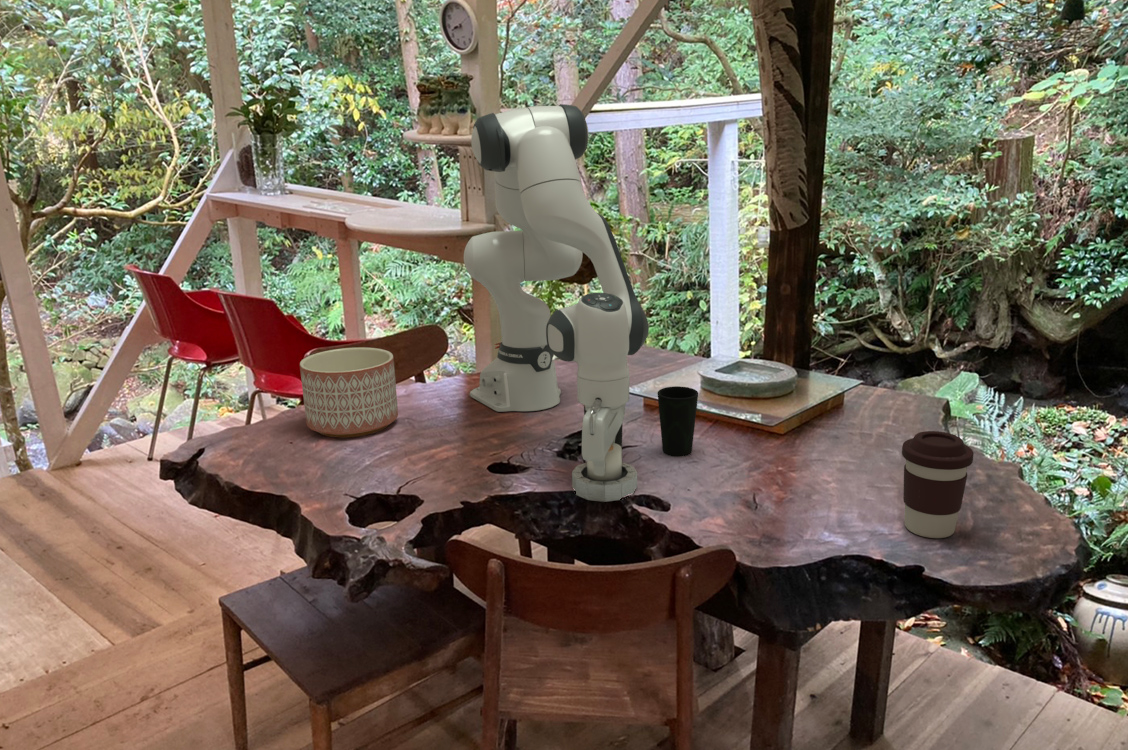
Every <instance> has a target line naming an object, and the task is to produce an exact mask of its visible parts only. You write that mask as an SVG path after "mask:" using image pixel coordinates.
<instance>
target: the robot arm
mask: <svg viewBox="0 0 1128 750" xmlns="http://www.w3.org/2000/svg"><path fill="white" fill-rule="evenodd" d="M587 123H588V122H587V121H586V118H585V115H584V113H583V111H582V110H581V109H580V108H579V107H578V106H576V105H571V104H564V103H563V104H562V103H561V104H558V105H533V106H527V107H525V108H524V107H523V108H517V109H511V110H507V111H502V112H499V113H494V112H491V113H487V114H485V115H482V116H480V117H477V119H476V121H474V124H473V127H472V132H471V140H470V141H471V142H470V143H471V149H472V153H473V156H474V157H475V159H476V160H477V164H478V165H479V166H480V167H481V168H483V169H484V170H485V171H489V172H493V173H494V174H493V178H494V197H495V200H494V201H495V204H494V205H495V209H496V212H497V213H498V215H499V216H500V218H502V220H503V221H505V222H506V223H507V224H509V225H511V226H513V227H515V228H518V229H519V230H509V231H508V230H507V231H506V230H505V231H502V230H501V231H491V232H484V233H482V234H481V233H480V234H477V235H473V236H471V238H470V239H469V240H468V242H467V243H466V245H465V248H464V251H463V262H464V267H465V269H466V271H467V273H468V275H469V276H470V277H471V278H472V279H474V280H475V281H476V282H478V283H479V284H481V285H482V286H483V287H484V288H485V289H486V291H488V292H489V294H490V295H491V296H492V298H493V300H494V302H495V304H496V306H497V310H498V313H499V322H500V328H501V329H500V330H501V341H500V342H498V343H495V344H494V346H495V347H494V349H495V350H496V349H498V351H497V356H496V358H495V359H494V360H492V362H490V363H489V364H488V365H486V366H485V367H484V368H483V369H482V370H480V371H481V372H480V374H479V386H478V387H475V388H473V389H472V390H471V391H469V397H471V398H472V399H474V400H476V401H477V402H479V403H481V404H483V405H485V406H487V407H488V408H490V409H491V410H493V411H495V412H499V413H500V412H502V413H503V412H504V413H505V412H535V411H541V410H548V409H550V408H553V407H556V406H557V405H558V404H560V402H561V397H560V396H561V393H562V392H561V388H559V384H558V378H557V371H556V364H555V361H554V360H553V359H554V356H555V357H556V358H558V359H559V360H560V361H564V362H568V363H569V362H570V363H571V362H575V363H576V364H577V372H576V380H577V381H576V383H577V384H576V385H577V388H576V389H577V391H576V392H577V401H578V403H580V404H581V405H583V406H584V405H585V410H586V411H587V412H586V414H585V415H583V419H582V427H581V456H582V459H583V460H584V461H586V462H587V461H593V465H594V474H595V475H598V476H603V475H604V474H605V472H606V463H605V456H606V454H607V452H608V450H609V448H610V446H611V444H612V443H615V437H616V435H617V433H618V431H619V429H620V427H621V425H622V423H624V418H625V413H626V412H625V410H626V404H627V403H628V402H629V401H630V384H631V383H630V382H631V381H630V378H631V377H630V368H629V366H628V356H634V355H635V354H637V353H638V351H639V350H640V349H641V348H642V347H643V345H644V344H645V342H646V340H647V338H648V336H649V333H650V332H649V327H650V326H649V321H648V317H647V315H646V312H645V311H644V308H643V307H642V305H641V303H640V302H639V300H638V297H637V296H636V293H635V291H634V289H633V286H632V283H631V280H630V277H629V275H628V272H627V269H626V266H625V264H624V261H623V257H622V255H621V252H620V250H619V247H618V244H617V242H616V239H615V236H614V234H613V231H612V230H611V227H610V225H609V223H608V221H607V219H606V218H605V217H604V215H601V214H600V213H598V212H596V210H595V209H594V208H593V207H592V205H591V203H590V201H589V200H588V199H587V196H586V194H585V192H584V189H583V185H582V180H581V176H580V172H579V167H578V164H577V162H576V161H577V160H578V159H580V158H581V157H583V155H584V154H585V152H587V151H586V150H587V149H588V142H589V126H588V124H587ZM583 254H585V255H586V256H587V257H588V259H590V261H591V263H592V264H593V267H594V270H595V273H596V276H597V278H598V281H599V284H600V287H601V289H602V292H590V293H588V294H585V295H583V296H582V297H580V298H579V300H578V301H577V303H574V304H573V305H569V306H565V307H562V308H559V309H556V310H555V311H553V313H552V314H551V310H550V307H549V306H548V304H547V303H546V302H545V301H544V300H542V299H541V298H538V297H536V296H535V295H531V294H530V293H528V292H525V291H524V289H523V288H522V287H521V283H524V282H541V281H542V282H543V281H557V280H561V279H566V278H569V277H573V276H575V274H577V272H578V271H579V269H580V267H581V265H582V263H583Z"/></svg>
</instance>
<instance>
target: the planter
mask: <svg viewBox="0 0 1128 750" xmlns="http://www.w3.org/2000/svg"><path fill="white" fill-rule="evenodd" d="M299 371H300V377H301V379H300V380H301V388H302V396H303V404H304V412H305V422H306V425H307V427H308V428H309V429H310V430H311V431H313V432H317V433H319V434H320V435H322V436H325V437H330V438H331V437H332V438H340V439H341V438H357V437H363V436H368V435H371V434H375V433H379V431H380V432H381V431H382V430H384V429H386V428H387V427H388V426H389V425H390V424H392V423H394V422H395V421H396V420H397V418H398V417H399V407H398V395H397V394H398V393H397V384H396V383H397V382H396V373H395V359H394V355H393V353H392V352H391V351H389V350H385V349H382V348H376V347H364V346H363V347H345V348H344V347H343V348H337V349H329V350H325V351H320V352H317V353H314V354H310V355H309V356H306V357H304V358H303V359H301V361H300V362H299Z"/></svg>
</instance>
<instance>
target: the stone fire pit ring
mask: <svg viewBox="0 0 1128 750" xmlns="http://www.w3.org/2000/svg"><path fill="white" fill-rule="evenodd" d="M572 487H573V488H574V489H575V491H576V494H575V495H576V496H578V497H579V498H582V499H585V500H587V501H595V502H602V503H605V502H606V503H607V502H613V501H621V500H620V499H621V498H622V497H624V496H626V495H628V494H631V493H634V491H635V489H636V487H637V488H638V471H637V470H636V468H635V467H634V466H633V465H632V464H629V463H626V462H623V461H622V476H621V478H619V479H618V480H615V481H607V482H602V481H594V480H591V479H590V478H588V476H587V461H585V462H584V463H582V464H578V465H576V466H575V468H574V469H573V470H572V472H571V488H572ZM636 490H637V489H636ZM635 492H636V491H635ZM634 494H635V493H634Z"/></svg>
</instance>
